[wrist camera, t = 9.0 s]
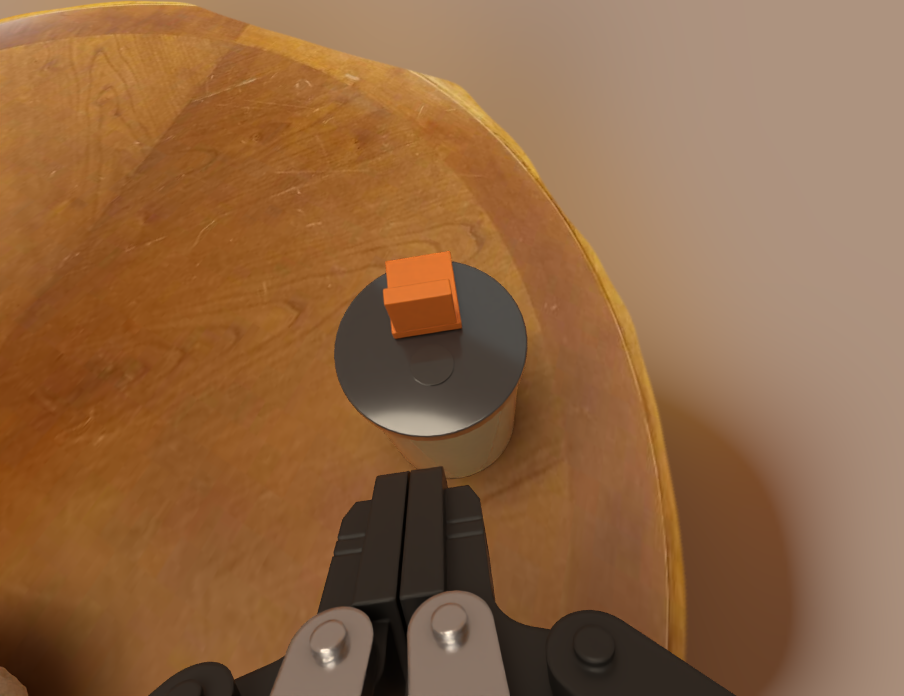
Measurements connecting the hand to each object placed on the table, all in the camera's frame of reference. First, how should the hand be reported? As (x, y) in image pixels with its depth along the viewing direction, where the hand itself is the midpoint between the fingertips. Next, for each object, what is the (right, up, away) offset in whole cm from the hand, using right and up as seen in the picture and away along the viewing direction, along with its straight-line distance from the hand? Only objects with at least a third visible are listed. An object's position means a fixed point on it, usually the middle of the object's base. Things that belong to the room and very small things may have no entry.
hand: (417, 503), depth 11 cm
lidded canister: (+1, -1, +22) cm, 22 cm away
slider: (-1, +6, +13) cm, 14 cm away
